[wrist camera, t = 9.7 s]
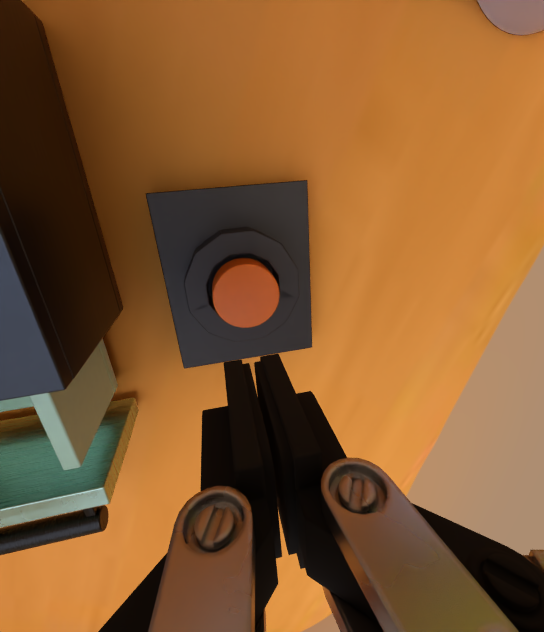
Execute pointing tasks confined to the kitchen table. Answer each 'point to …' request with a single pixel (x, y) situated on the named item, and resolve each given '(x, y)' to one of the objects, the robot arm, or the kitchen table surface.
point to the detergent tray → (63, 458)
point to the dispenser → (44, 224)
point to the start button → (245, 293)
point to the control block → (225, 245)
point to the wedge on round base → (515, 15)
